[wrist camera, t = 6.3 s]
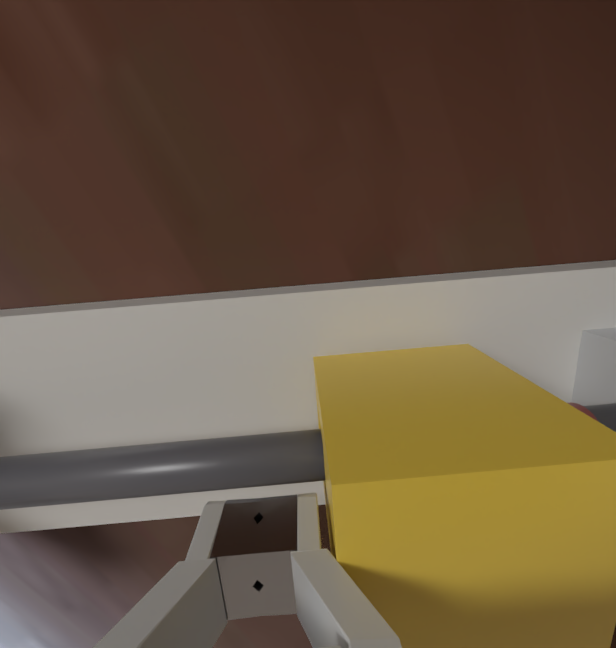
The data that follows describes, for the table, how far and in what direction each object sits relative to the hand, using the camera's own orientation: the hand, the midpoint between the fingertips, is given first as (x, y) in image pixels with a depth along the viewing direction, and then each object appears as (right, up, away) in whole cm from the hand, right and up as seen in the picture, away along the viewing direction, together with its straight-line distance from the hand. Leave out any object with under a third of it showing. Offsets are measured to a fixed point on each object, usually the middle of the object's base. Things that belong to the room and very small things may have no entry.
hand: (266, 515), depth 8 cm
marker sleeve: (+5, +2, +4) cm, 7 cm away
